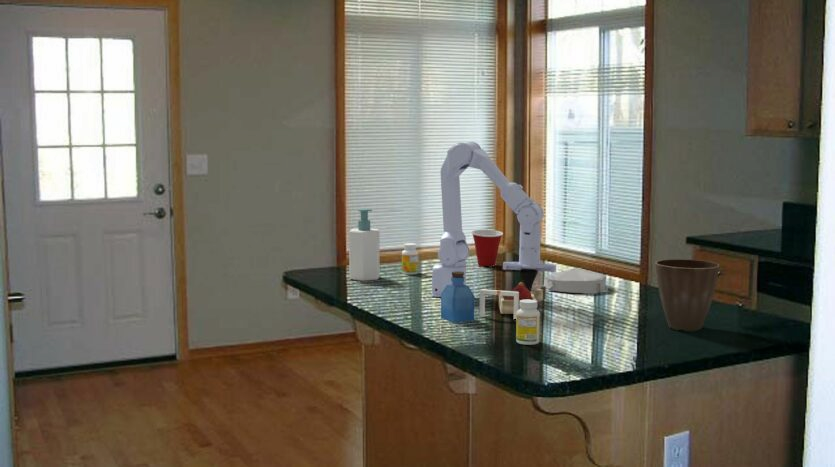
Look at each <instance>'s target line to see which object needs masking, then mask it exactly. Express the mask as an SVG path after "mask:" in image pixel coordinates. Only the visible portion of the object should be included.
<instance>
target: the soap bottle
mask: <svg viewBox="0 0 835 467" xmlns="http://www.w3.org/2000/svg"><path fill="white" fill-rule="evenodd" d="M357 210H358V212H360V219H358V220H357V221H358V222H357V223H358V224H357V226H358V227H357V228H350V230H349V231H348V252H349V253H348V257H349V259H348V261H349V262H348V263H349V265H348V266H349V268H348V270H349V272H348V273H349V274H348V276H349V280H351V279H353V280H354V281H361V282H366V281H377V280H379V278H380V273H381V272H380V271H381V270H380V268H381V267H380V263H381V262H380V261H381V260H380V229H379V228H371V220H370V219H369V212H373V209H371V208H359V209H357Z"/></svg>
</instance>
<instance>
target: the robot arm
mask: <svg viewBox="0 0 835 467" xmlns="http://www.w3.org/2000/svg"><path fill="white" fill-rule="evenodd" d="M446 152H447V154H446V157H445V159H444V161H443V164H442V165H441V167H440V186H441V188H440V189H441V204H442V205H441V207H442V222H443V224H442V225H443V226H442V227H443V233H442V235H441V238H440V241H439V243H440V245H439V248H438V250H437V256H438V257H437V258H438V260H439V262H440V264H435V265H434V266H433V268H432V273H431V294H430V296H431V297H437V298H441V293H442V292H443V290H444V289H445V287H446V286H447V285H451V284H452V281H451V277H452V272H464V275H463V277H465V281H464V282H463V285H467V262H466V260H467V259H468V258H469V255H470V247H469V245H468V243H467V240H466V239H467V238H466V235H465V233H464V231H463V225H462V224H463V221H462V218H463V217H462V202H461V185H460V184H461V182H460V180H461V179H460V176H461V175H462V174H463V173H464V172H465V171H466V170H467V169H468V168H473V169H476V170H480V171H482V173H484V174H485V176H486V177H487V178H488V179H489V180H490V181H491V182H492V183H493V184H494V185H495V186H496V187H497V188H498V189H499V190H500V197H501V199H502V200H503V202H505V203H506V205H508V207H509V208H510V209H511V211H513V212H514V214H516V219H517V221H518V223H519V225H520V226H519V250H518V252H519V253H518V257H519V258H518V261H503V262H502V270H505V271H506V270H511V271H512V270H514V271H520V272H519V274H520V278H521V279H522V283H524V284H523V285H524V287H526V288H527V289H528V290H529V291H532V288H533V284H534V281H535V280H536V277H537V275H538V273H539V272H548V273H549V272H550V273H557V264H555V263H554V264H553V263H545V262H541V238H542V237H541V233H542V232H541V227H542V226H541V223H542V222H541V221H542V220H543V218H544V214H545V213H544V210H543V208H542V206H541V204H539V203H536V202H535V200H534V199H533V198H530V197H529V196H528V194H527V193H526V192H525V191H524V190H523V189H524V186H522V185H521V184H518V183H517V182H510V181H509V179H508V178H507V177H506V176H505V174H504V173H503V172H502V171H501V169H500V168H499V166H497V165H496V163H495V162H494V161H493V159H492V158H491V157H490V155H488V153H487V151H486V150H485V149H483V148H481V145H480V144H479V143H478V142H475V141H468V142H456V143H455V144H454V145H452V146H451V147H450V148H448V150H447V151H446Z"/></svg>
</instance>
